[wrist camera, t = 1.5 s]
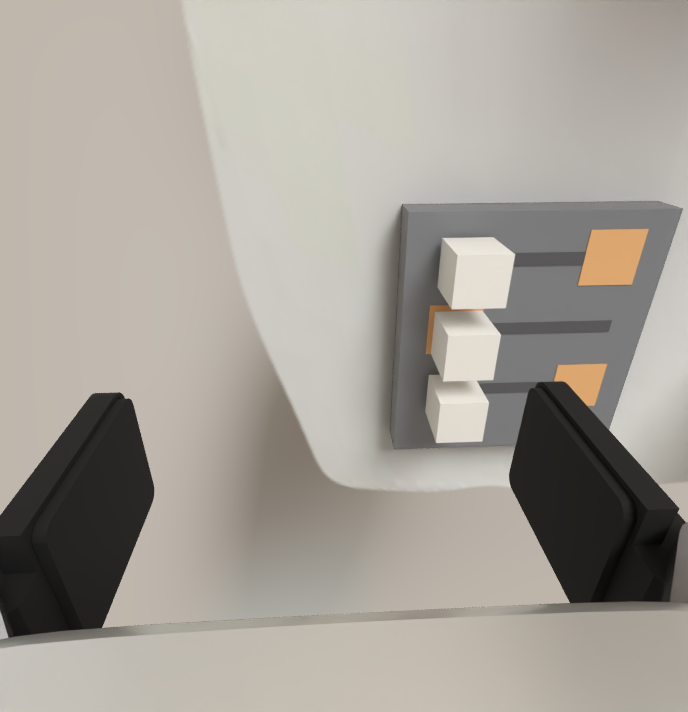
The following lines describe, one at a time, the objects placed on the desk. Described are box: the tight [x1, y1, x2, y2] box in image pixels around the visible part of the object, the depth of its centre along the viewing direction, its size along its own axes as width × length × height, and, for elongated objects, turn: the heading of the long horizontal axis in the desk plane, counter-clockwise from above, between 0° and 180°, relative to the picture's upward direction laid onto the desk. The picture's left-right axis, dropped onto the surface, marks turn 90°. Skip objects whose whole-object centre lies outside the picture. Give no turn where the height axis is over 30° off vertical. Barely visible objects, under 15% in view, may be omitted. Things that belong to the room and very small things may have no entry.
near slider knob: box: [437, 237, 515, 309], centre depth 23 cm, size 3×3×3 cm
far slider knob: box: [425, 375, 489, 443], centre depth 27 cm, size 3×3×3 cm
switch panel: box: [390, 201, 683, 449], centre depth 28 cm, size 14×15×2 cm
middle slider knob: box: [431, 311, 501, 382], centre depth 25 cm, size 3×3×3 cm
